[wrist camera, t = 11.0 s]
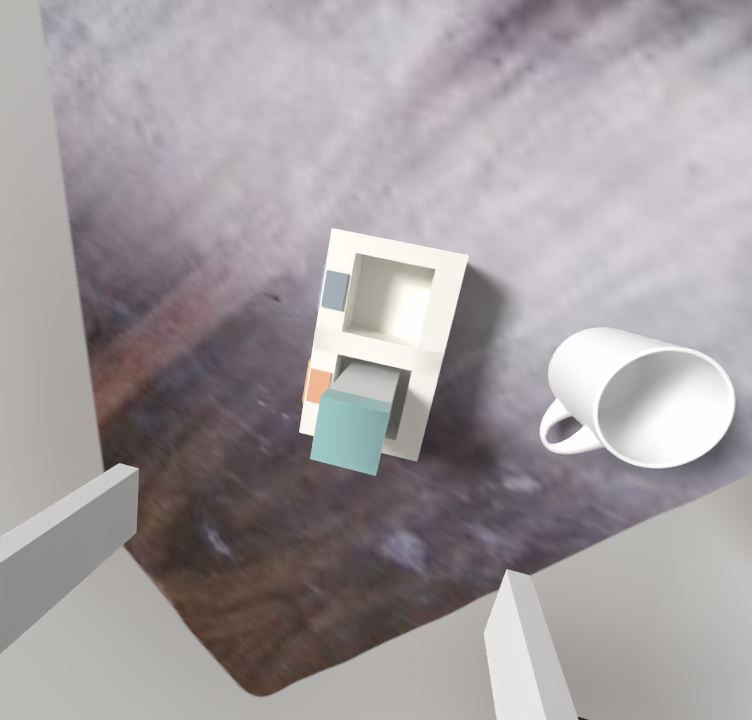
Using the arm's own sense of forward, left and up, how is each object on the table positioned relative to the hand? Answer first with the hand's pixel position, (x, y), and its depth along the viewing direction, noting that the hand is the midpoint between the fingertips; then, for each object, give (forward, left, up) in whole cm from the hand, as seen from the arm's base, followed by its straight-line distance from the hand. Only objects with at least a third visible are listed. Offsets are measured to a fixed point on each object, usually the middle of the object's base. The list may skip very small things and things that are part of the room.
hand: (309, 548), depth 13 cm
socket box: (-3, -1, -26) cm, 26 cm away
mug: (-3, +18, -26) cm, 32 cm away
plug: (+1, -1, -24) cm, 24 cm away
